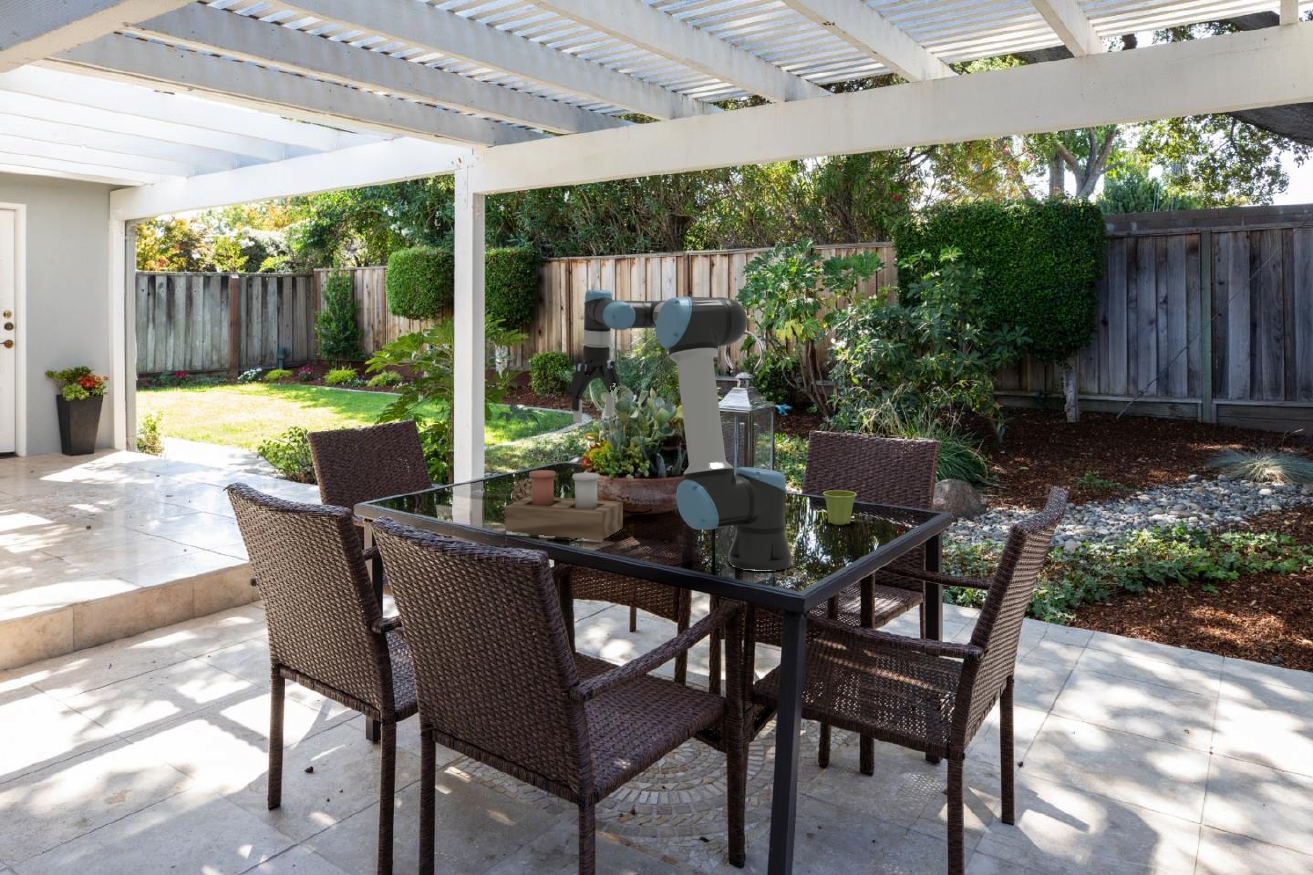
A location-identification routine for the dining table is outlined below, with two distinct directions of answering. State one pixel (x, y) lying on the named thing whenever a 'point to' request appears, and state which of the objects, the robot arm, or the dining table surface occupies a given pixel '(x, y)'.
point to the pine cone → (522, 490)
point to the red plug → (542, 487)
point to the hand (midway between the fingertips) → (593, 419)
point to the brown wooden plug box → (565, 519)
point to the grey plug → (586, 490)
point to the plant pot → (839, 506)
